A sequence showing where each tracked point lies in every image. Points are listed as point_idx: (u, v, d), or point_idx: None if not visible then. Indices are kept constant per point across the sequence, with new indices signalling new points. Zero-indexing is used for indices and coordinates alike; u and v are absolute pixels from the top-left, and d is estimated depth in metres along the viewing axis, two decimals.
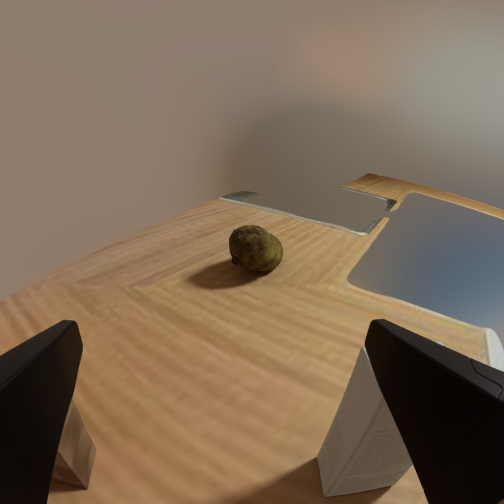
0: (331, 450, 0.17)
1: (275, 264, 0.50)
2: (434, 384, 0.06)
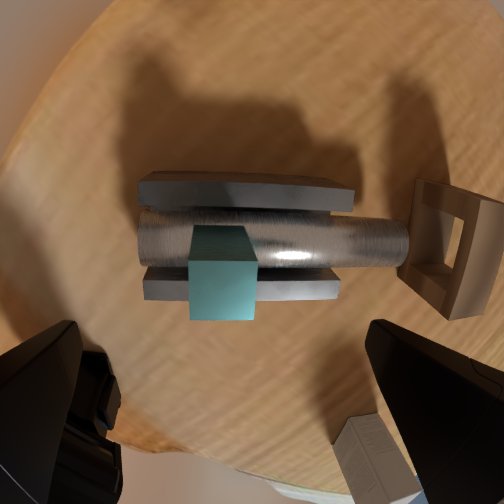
0: (378, 437, 0.26)
1: None
2: (434, 384, 0.06)
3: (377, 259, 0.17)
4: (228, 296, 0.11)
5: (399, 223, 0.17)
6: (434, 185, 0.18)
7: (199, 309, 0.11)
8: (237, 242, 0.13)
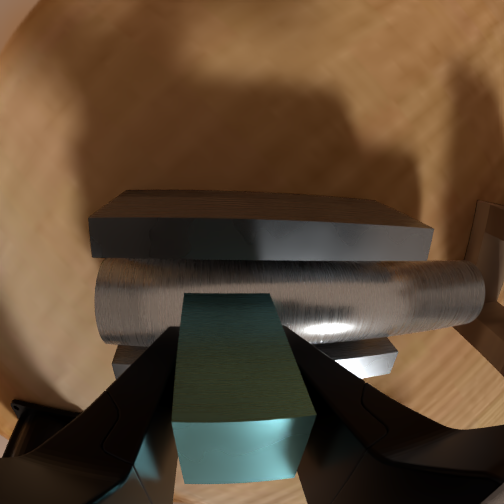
0: None
1: None
2: None
3: (448, 322, 0.11)
4: (253, 460, 0.05)
5: (473, 268, 0.11)
6: None
7: (199, 474, 0.05)
8: (265, 348, 0.06)
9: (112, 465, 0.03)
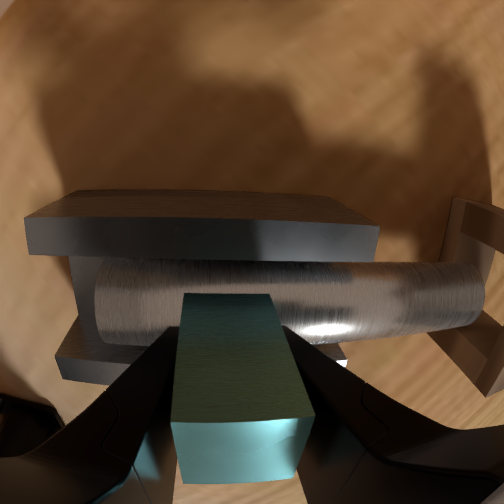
0: None
1: None
2: None
3: (448, 323, 0.11)
4: (251, 460, 0.05)
5: (473, 270, 0.11)
6: (481, 209, 0.12)
7: (197, 474, 0.05)
8: (265, 349, 0.06)
9: (112, 464, 0.03)
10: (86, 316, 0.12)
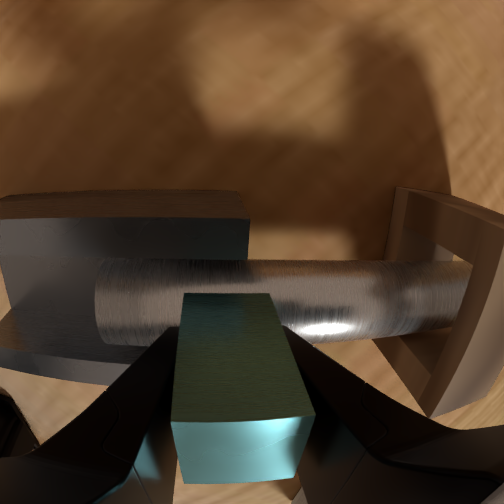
0: None
1: None
2: None
3: (448, 322, 0.11)
4: (252, 460, 0.05)
5: None
6: (424, 198, 0.11)
7: (198, 474, 0.05)
8: (265, 348, 0.06)
9: (112, 465, 0.03)
10: (16, 310, 0.11)
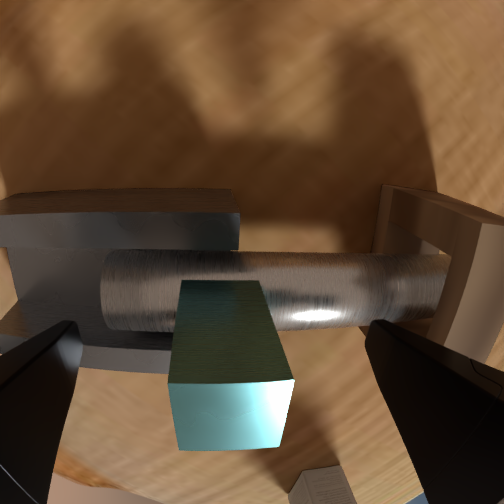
0: (336, 496, 0.20)
1: None
2: (434, 384, 0.06)
3: (432, 312, 0.12)
4: (239, 425, 0.06)
5: None
6: (407, 195, 0.12)
7: (192, 439, 0.06)
8: (252, 325, 0.07)
9: None
10: (23, 302, 0.12)
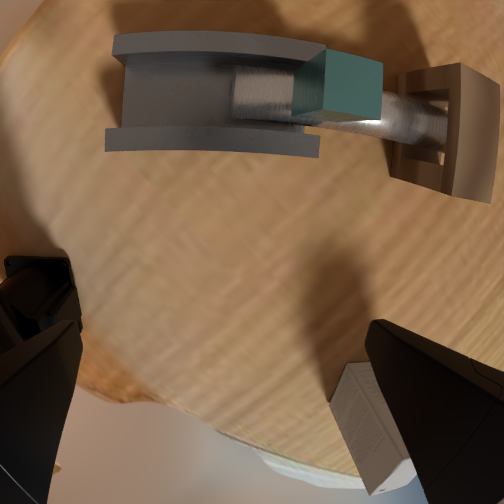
0: None
1: None
2: (434, 384, 0.06)
3: None
4: (359, 89, 0.10)
5: None
6: (415, 71, 0.16)
7: (332, 97, 0.10)
8: None
9: None
10: None
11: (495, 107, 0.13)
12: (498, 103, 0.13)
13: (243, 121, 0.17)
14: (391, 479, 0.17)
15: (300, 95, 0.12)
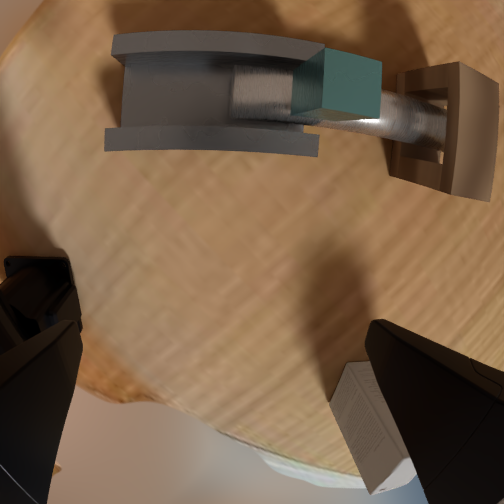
0: None
1: None
2: (434, 384, 0.06)
3: None
4: (358, 88, 0.10)
5: None
6: (414, 70, 0.16)
7: (331, 96, 0.10)
8: None
9: None
10: None
11: (494, 105, 0.13)
12: (497, 102, 0.13)
13: (242, 120, 0.17)
14: (391, 478, 0.17)
15: (299, 94, 0.12)
